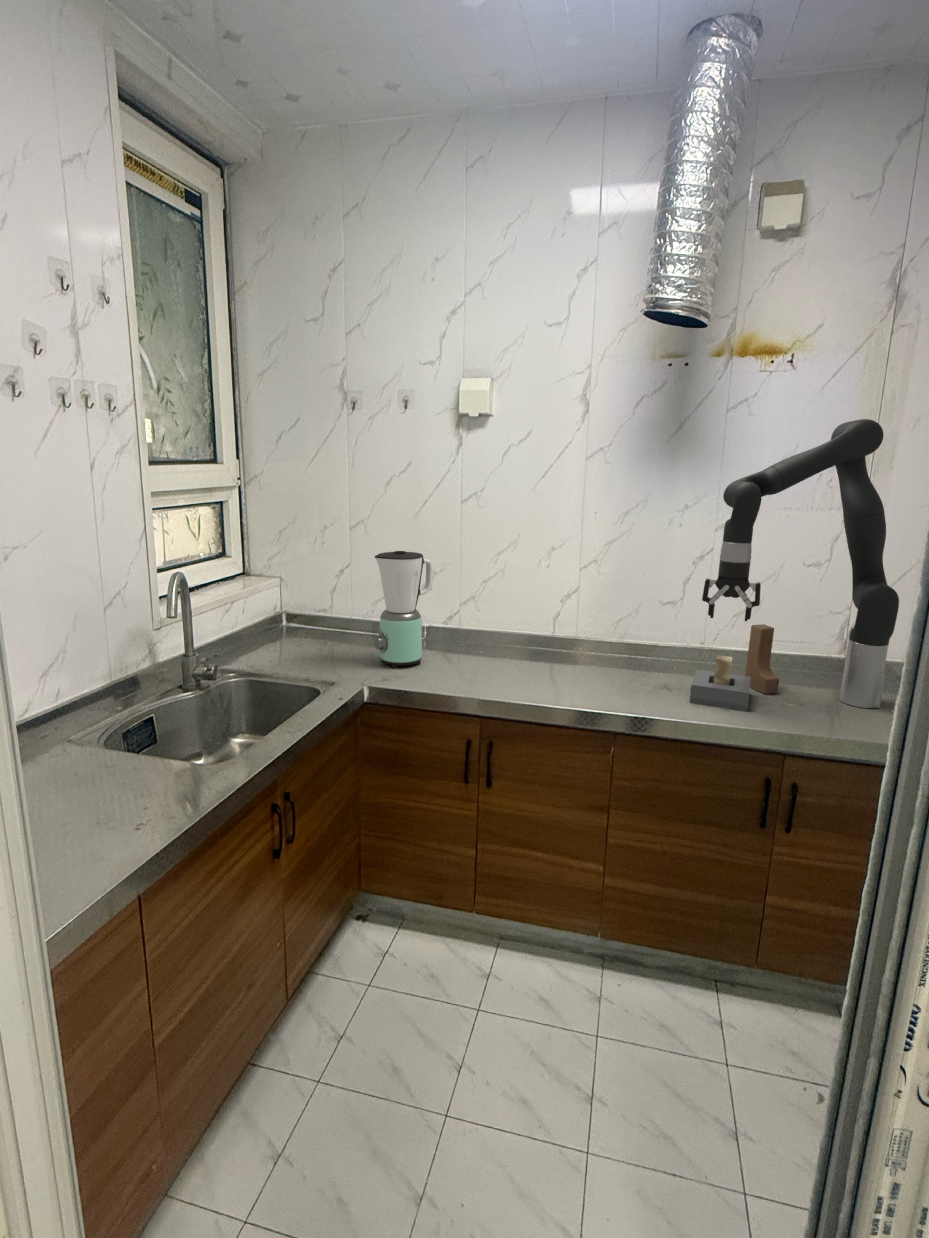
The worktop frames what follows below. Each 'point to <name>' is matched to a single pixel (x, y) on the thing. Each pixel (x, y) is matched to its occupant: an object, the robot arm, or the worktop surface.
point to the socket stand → (720, 691)
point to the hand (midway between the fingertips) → (728, 619)
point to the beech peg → (722, 670)
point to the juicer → (401, 607)
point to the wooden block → (761, 660)
